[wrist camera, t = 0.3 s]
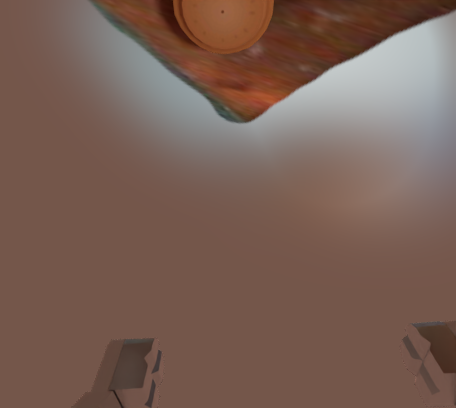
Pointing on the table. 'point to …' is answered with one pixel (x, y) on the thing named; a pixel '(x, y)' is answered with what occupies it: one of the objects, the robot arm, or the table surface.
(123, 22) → the table surface
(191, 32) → the pie
